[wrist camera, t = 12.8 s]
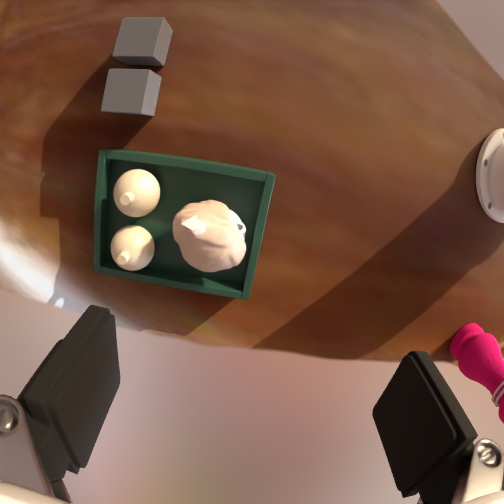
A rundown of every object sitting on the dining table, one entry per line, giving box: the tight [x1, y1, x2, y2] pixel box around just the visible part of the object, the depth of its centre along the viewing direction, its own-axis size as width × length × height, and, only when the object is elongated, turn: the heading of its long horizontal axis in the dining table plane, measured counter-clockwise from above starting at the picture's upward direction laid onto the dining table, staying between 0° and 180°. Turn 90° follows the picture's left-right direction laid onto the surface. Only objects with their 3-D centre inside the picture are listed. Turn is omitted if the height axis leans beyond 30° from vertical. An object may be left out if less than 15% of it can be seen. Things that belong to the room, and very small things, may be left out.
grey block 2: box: [101, 69, 161, 116], centre depth 24 cm, size 4×4×4 cm
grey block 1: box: [112, 17, 173, 66], centre depth 22 cm, size 4×4×4 cm
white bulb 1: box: [113, 169, 160, 217], centre depth 26 cm, size 4×4×5 cm
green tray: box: [93, 148, 275, 300], centre depth 29 cm, size 17×13×3 cm
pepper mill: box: [450, 323, 504, 423], centre depth 29 cm, size 7×7×20 cm
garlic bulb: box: [173, 200, 246, 272], centre depth 26 cm, size 7×6×8 cm
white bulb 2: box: [111, 225, 155, 271], centre depth 28 cm, size 4×4×5 cm
